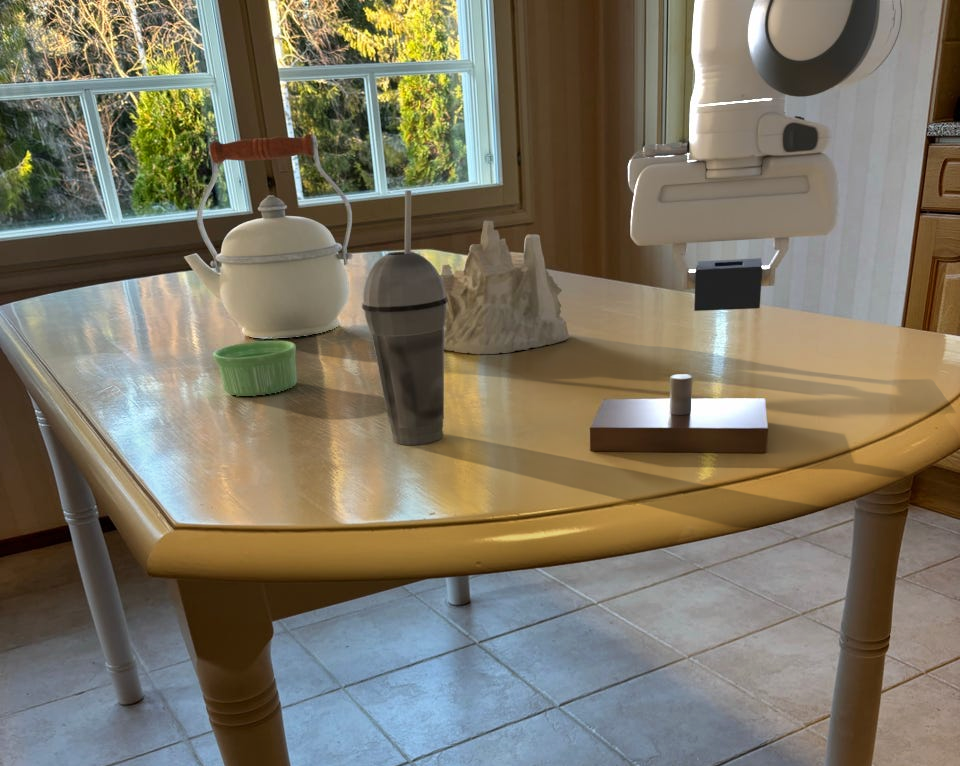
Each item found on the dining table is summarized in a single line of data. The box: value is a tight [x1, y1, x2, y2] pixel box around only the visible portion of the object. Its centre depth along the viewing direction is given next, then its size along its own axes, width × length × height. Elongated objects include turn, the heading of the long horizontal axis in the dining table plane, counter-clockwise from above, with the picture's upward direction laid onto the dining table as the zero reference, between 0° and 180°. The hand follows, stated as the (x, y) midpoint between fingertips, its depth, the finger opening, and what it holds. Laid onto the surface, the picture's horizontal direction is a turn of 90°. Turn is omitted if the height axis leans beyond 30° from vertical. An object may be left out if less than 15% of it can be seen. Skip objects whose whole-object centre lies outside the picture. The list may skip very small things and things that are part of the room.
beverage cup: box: [361, 190, 448, 446], centre depth 79 cm, size 7×7×20 cm
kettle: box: [183, 133, 353, 338], centre depth 130 cm, size 25×18×25 cm
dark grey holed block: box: [693, 257, 763, 312], centre depth 97 cm, size 6×6×4 cm
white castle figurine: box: [439, 220, 570, 356], centre depth 116 cm, size 16×16×15 cm
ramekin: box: [212, 340, 298, 397], centre depth 103 cm, size 9×9×4 cm
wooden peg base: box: [589, 373, 769, 454], centre depth 78 cm, size 14×9×5 cm, turn 76°
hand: (728, 287), depth 97 cm, fingers closed on dark grey holed block, 6 cm apart
